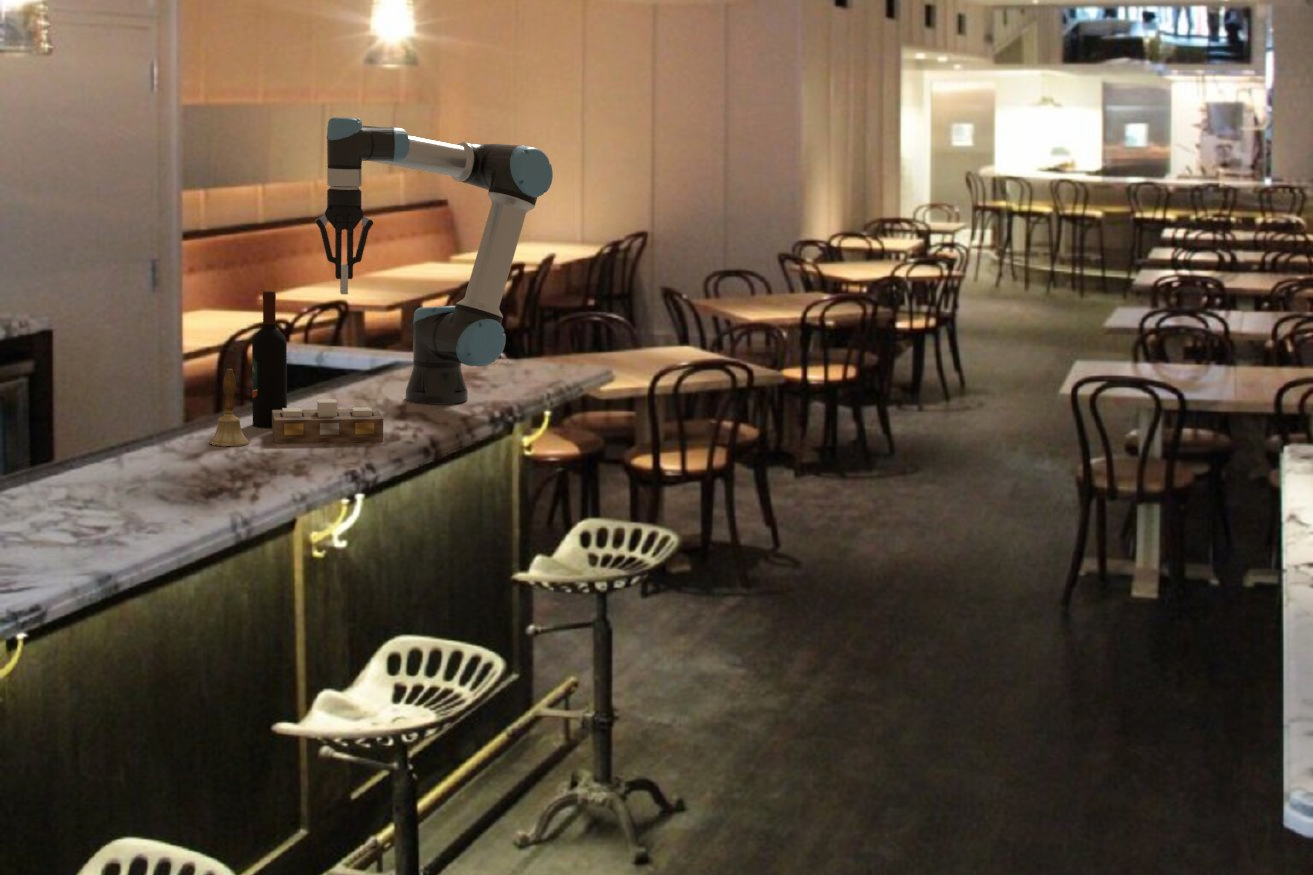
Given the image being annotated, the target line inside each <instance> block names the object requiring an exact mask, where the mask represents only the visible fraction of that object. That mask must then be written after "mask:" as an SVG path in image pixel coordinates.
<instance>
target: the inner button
mask: <svg viewBox="0 0 1313 875" xmlns="http://www.w3.org/2000/svg"><path fill="white" fill-rule="evenodd" d="M351 409H352V416H372V409H373V408H372V407H367V406H366V407H363V406H362V407H358V406H357V407H351Z"/></svg>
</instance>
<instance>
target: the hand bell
mask: <svg viewBox="0 0 1313 875" xmlns="http://www.w3.org/2000/svg"><path fill="white" fill-rule="evenodd" d="M236 384H237V383H236V376H235V374H234V369H233V368H226V370H225V374H224V377H223V380H222V387H223V393H224V397H225V404H224V405H225V406H224V407H225V408H224V415H222V416H221V417H218V419H217V426H216V427H217V428H216V430H215V433H214V435H213V436H212V437H211V438H210V439H209V441H208V444H209V443H210V445H211V444H212V446H215V445H217V446H216V447H226V446H231V447H242V446H246V445H249V444H250V441H249V439H248V438H247V437H246V435H244V433H243V430H242V427H241V420H240V418H239V417H237V416H236V415H234V396H235V392H236Z"/></svg>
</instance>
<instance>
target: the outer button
mask: <svg viewBox="0 0 1313 875" xmlns="http://www.w3.org/2000/svg"><path fill="white" fill-rule="evenodd" d="M302 410H303V409H302V407H287V408H282V417H302Z"/></svg>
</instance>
